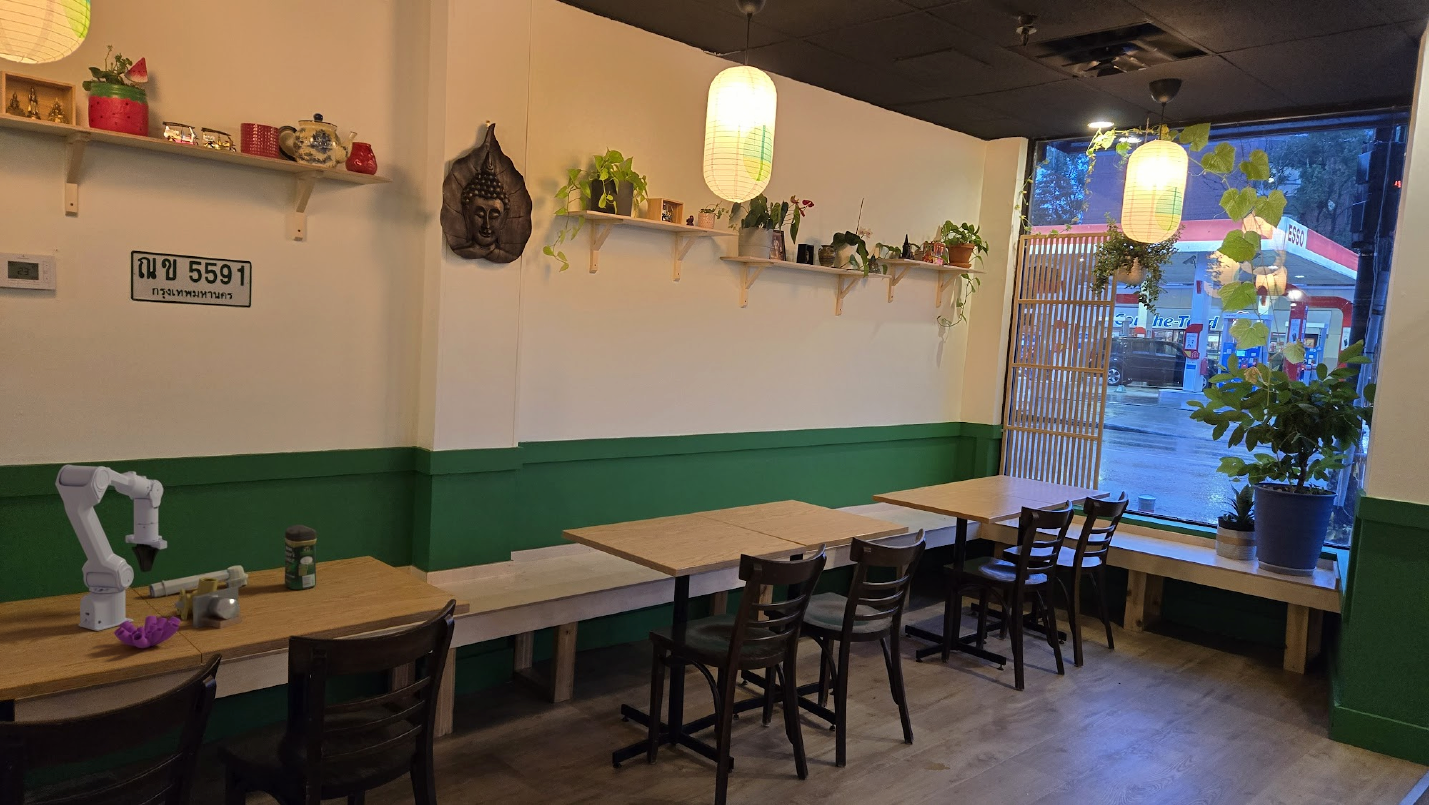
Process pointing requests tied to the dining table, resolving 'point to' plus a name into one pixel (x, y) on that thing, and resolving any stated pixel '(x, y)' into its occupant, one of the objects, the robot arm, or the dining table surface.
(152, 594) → the grey piece
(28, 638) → the dining table surface
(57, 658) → the dining table surface
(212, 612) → the fitting
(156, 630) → the purple tube coral
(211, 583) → the ball valve
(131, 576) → the robot arm
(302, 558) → the coffee jar
